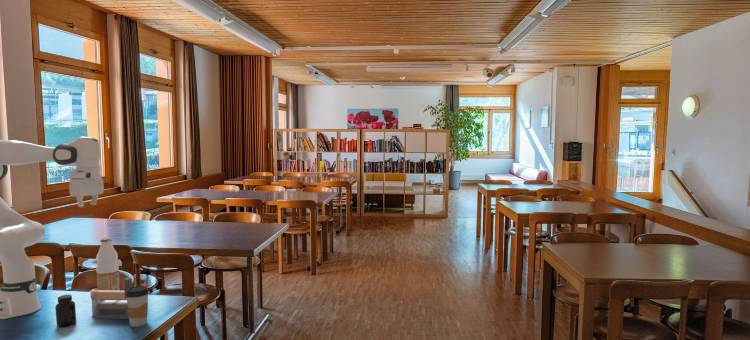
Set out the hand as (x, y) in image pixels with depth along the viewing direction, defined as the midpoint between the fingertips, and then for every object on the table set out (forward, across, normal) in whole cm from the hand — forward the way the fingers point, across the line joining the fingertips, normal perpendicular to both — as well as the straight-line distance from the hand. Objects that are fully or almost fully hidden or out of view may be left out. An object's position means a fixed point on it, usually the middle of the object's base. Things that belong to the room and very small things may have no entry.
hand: (87, 205), depth 201 cm
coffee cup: (+48, +11, +28) cm, 56 cm away
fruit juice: (+46, -26, -3) cm, 53 cm away
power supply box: (+47, +2, +13) cm, 49 cm away
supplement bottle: (+48, +10, -2) cm, 50 cm away
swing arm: (+39, +3, +12) cm, 41 cm away
